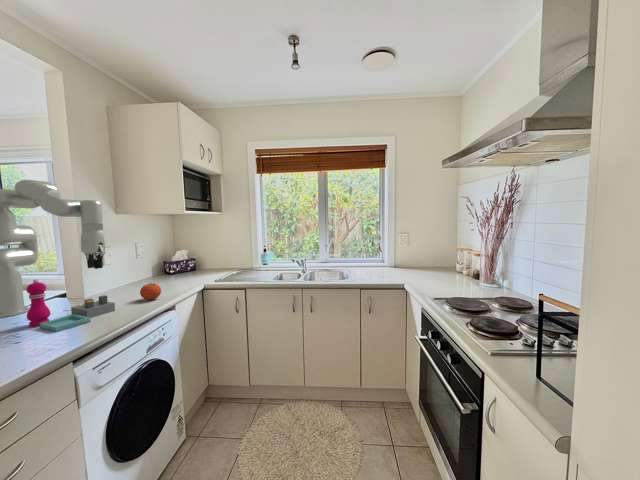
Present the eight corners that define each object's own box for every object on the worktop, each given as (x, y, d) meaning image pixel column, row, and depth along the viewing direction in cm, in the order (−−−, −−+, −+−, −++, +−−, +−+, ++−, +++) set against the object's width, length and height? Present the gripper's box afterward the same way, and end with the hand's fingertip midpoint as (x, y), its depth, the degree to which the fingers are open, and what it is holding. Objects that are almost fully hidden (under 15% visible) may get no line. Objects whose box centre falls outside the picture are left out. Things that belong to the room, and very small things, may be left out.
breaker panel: (71, 315, 131) (71, 306, 131) (99, 307, 143) (99, 299, 142) (87, 318, 127) (86, 309, 127) (114, 310, 138) (114, 302, 138)
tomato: (151, 302, 151) (150, 284, 150) (135, 301, 153) (134, 283, 152) (165, 297, 161) (165, 280, 160) (150, 296, 163) (149, 279, 162)
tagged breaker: (84, 307, 130) (84, 299, 130) (90, 305, 132) (90, 298, 132) (88, 308, 129) (87, 300, 129) (94, 306, 131) (93, 299, 131)
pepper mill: (49, 320, 125) (46, 276, 124) (52, 324, 120) (48, 278, 119) (26, 325, 120) (22, 279, 118) (28, 329, 115) (24, 281, 113)
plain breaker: (99, 303, 136) (98, 296, 135) (104, 302, 138) (103, 295, 138) (102, 304, 135) (101, 297, 134) (107, 302, 137) (107, 295, 137)
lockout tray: (40, 328, 116) (39, 323, 116) (74, 318, 127) (73, 314, 127) (56, 332, 112) (56, 327, 112) (90, 322, 123) (90, 317, 123)
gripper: (71, 228, 125) (74, 268, 127) (94, 228, 119) (97, 270, 120) (90, 227, 132) (93, 265, 133) (113, 227, 126) (115, 267, 127)
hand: (95, 267), depth 127 cm, fingers open, 4 cm apart
